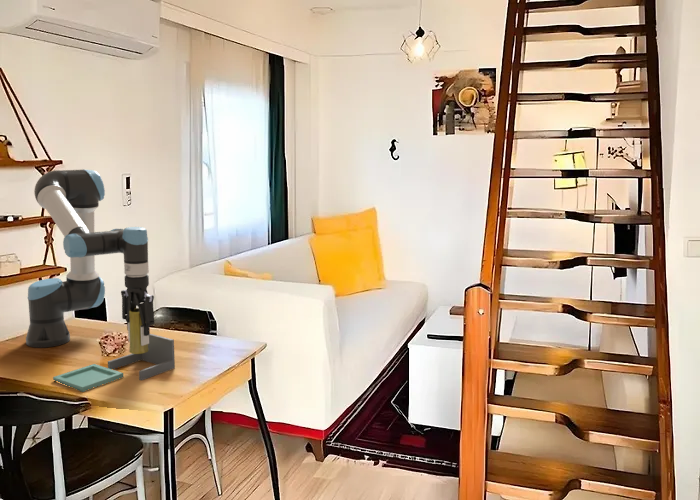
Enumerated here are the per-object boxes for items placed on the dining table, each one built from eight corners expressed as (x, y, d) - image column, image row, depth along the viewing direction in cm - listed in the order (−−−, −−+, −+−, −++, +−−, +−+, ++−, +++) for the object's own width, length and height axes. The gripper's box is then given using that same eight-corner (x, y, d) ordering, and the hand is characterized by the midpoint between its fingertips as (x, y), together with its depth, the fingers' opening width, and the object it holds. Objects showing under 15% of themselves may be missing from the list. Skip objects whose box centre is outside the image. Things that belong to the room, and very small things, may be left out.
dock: (108, 370, 218) (106, 341, 217) (141, 358, 230) (140, 331, 228) (141, 380, 209) (140, 350, 208) (174, 368, 221) (173, 339, 219)
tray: (53, 381, 207) (53, 377, 207) (94, 368, 220) (94, 363, 220) (82, 391, 199) (82, 387, 199) (123, 377, 212) (123, 373, 212)
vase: (133, 347, 222) (131, 307, 219) (151, 348, 221) (149, 307, 219) (126, 354, 216) (125, 312, 213) (145, 354, 215) (143, 312, 213)
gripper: (108, 272, 216) (111, 339, 220) (146, 280, 206) (148, 351, 210) (127, 268, 222) (129, 334, 226) (165, 276, 212) (166, 345, 216)
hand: (138, 342), depth 218 cm, fingers closed on vase, 6 cm apart
